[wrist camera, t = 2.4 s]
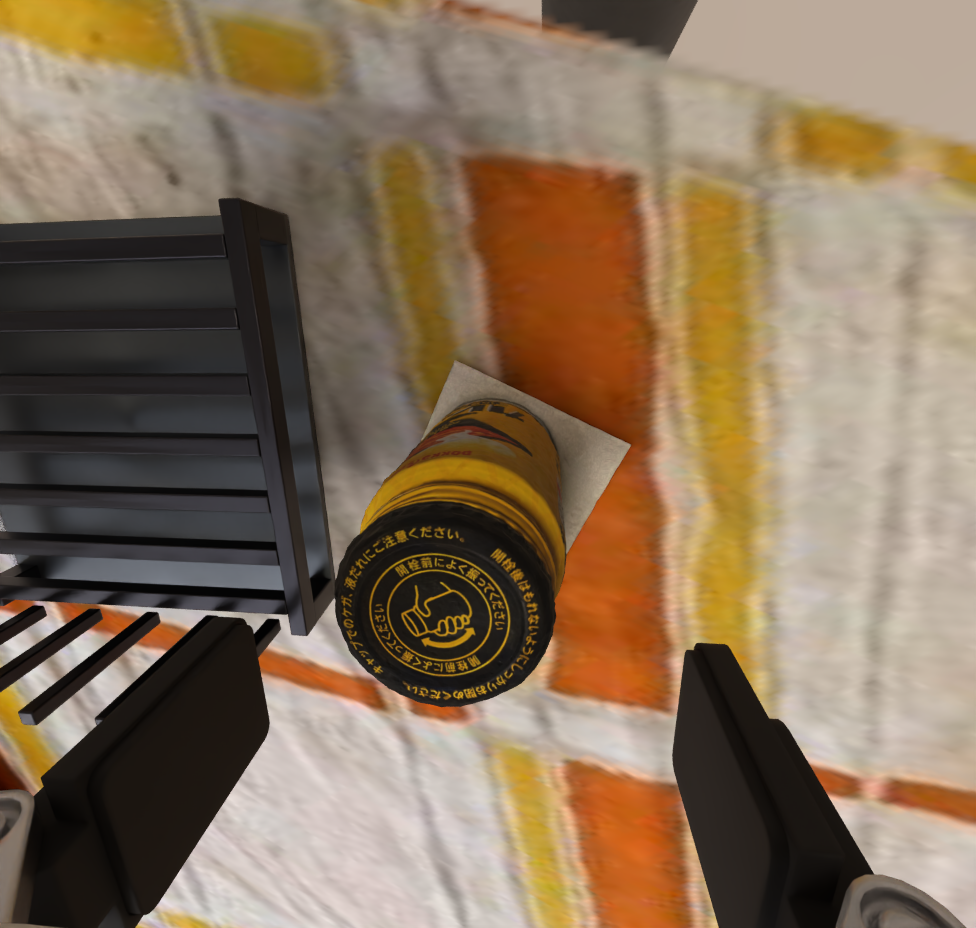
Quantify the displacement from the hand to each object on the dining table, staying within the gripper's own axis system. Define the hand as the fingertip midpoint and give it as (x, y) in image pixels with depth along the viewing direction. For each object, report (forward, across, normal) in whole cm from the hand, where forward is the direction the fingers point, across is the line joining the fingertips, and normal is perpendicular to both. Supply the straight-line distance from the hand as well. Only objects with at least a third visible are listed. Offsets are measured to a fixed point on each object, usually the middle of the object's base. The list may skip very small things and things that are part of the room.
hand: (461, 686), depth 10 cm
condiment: (+13, 0, -1) cm, 13 cm away
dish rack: (+13, +18, -3) cm, 22 cm away
